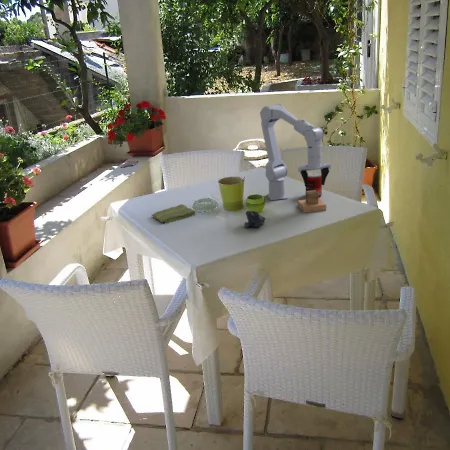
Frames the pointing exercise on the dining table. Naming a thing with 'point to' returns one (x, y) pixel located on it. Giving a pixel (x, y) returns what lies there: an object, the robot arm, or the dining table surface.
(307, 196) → the walnut block
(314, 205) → the terracotta tile
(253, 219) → the frog
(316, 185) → the canned food
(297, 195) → the dining table surface
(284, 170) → the robot arm
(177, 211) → the washcloth
